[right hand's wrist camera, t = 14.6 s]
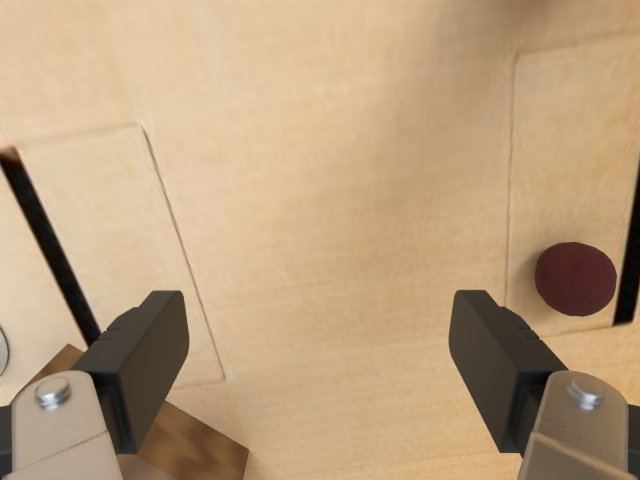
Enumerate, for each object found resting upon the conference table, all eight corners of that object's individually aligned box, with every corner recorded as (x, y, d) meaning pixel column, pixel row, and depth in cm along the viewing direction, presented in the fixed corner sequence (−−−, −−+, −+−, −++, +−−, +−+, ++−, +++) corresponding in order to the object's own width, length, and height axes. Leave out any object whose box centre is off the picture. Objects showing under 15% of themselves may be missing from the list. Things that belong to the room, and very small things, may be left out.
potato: (539, 305, 45) (577, 341, 39) (509, 256, 43) (543, 285, 36) (599, 271, 44) (649, 302, 37) (571, 219, 41) (618, 242, 35)
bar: (47, 371, 49) (-5, 425, 41) (68, 343, 47) (17, 392, 39) (225, 472, 55) (209, 535, 47) (249, 449, 53) (236, 511, 45)
